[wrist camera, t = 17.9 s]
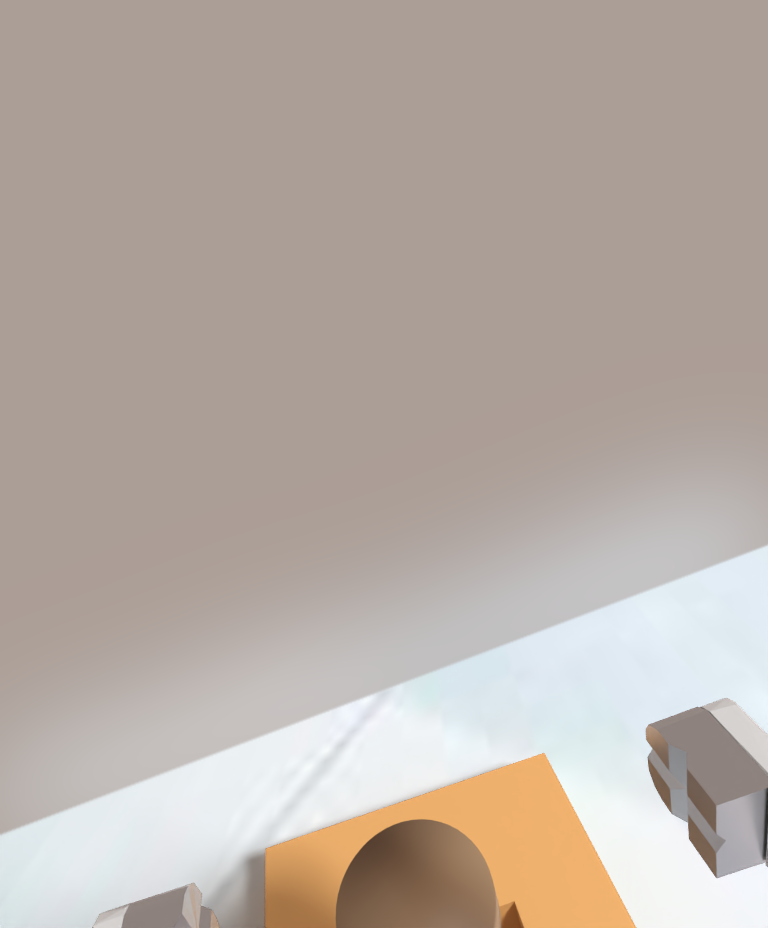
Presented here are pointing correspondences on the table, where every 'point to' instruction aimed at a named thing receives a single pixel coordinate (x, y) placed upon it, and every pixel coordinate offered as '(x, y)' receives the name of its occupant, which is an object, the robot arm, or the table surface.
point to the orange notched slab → (492, 831)
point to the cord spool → (418, 881)
